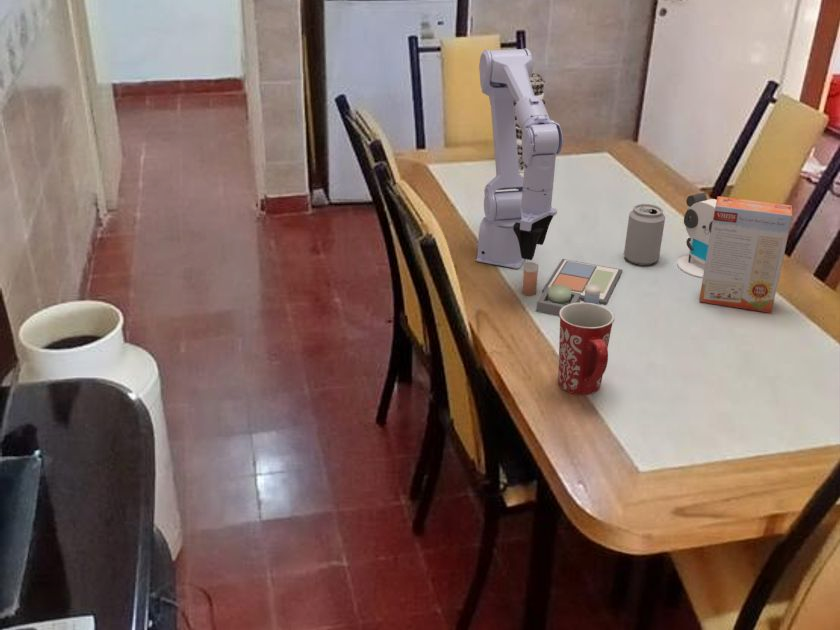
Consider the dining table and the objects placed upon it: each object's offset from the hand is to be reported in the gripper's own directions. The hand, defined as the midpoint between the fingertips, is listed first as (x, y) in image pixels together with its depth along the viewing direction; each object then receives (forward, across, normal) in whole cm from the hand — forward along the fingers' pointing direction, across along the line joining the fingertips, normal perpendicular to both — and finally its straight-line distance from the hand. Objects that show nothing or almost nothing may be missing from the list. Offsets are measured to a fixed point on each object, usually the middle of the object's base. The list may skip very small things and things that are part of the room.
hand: (532, 251), depth 187 cm
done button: (+7, -4, -7) cm, 11 cm away
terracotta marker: (+9, 0, 0) cm, 9 cm away
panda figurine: (+10, +27, -31) cm, 42 cm away
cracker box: (+10, +13, -39) cm, 42 cm away
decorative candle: (+9, +70, +22) cm, 74 cm away
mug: (+10, -31, -18) cm, 37 cm away
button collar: (+9, -4, -7) cm, 12 cm away
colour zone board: (+9, +9, -9) cm, 16 cm away
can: (+9, +25, -18) cm, 32 cm away
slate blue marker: (+9, -4, -14) cm, 17 cm away
